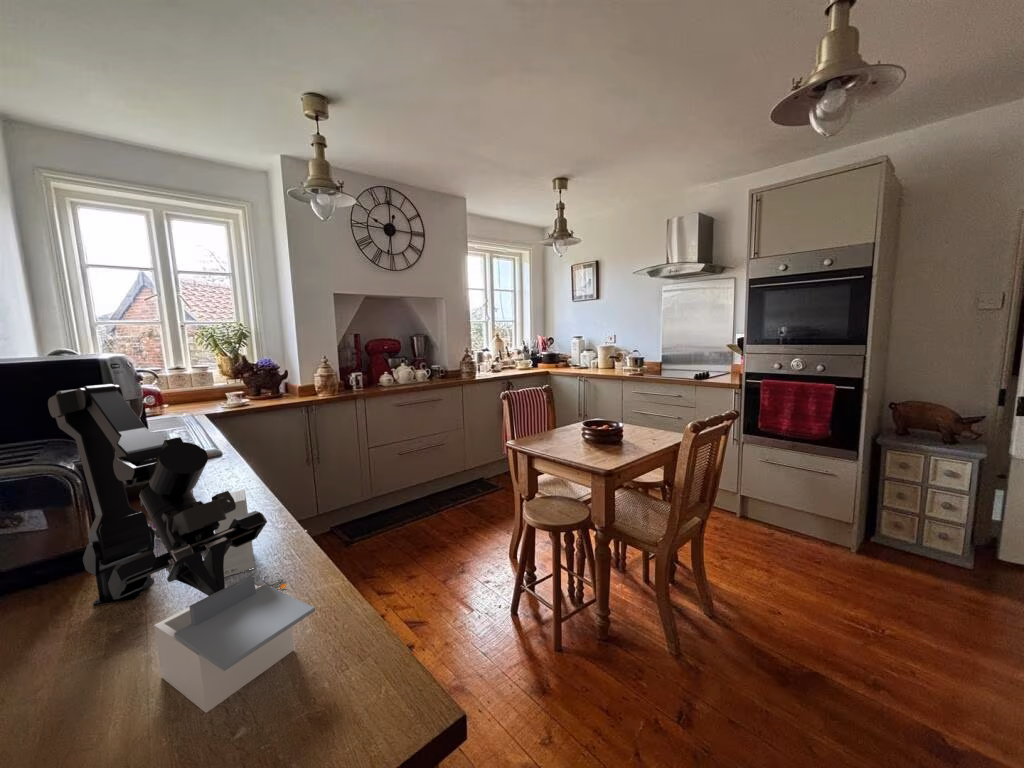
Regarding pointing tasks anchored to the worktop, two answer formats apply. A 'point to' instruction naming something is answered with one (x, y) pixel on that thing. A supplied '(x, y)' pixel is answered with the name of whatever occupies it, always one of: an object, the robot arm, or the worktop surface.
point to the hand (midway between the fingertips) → (221, 598)
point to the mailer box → (211, 664)
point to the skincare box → (242, 555)
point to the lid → (240, 621)
